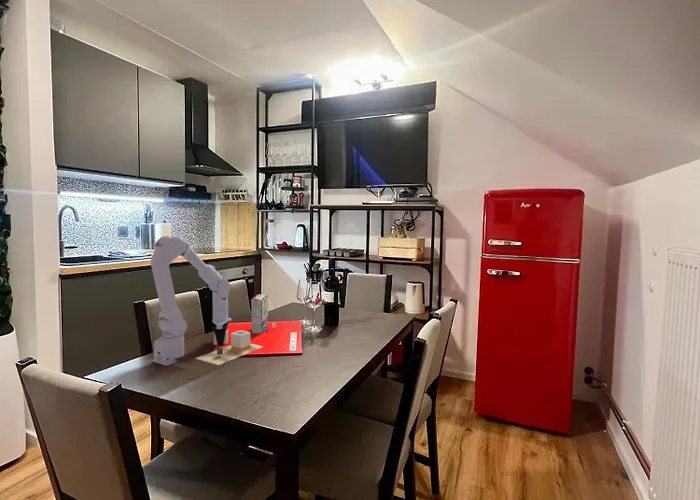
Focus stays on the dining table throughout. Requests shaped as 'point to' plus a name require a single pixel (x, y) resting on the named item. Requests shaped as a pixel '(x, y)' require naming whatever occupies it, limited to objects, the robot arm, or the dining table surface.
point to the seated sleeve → (240, 340)
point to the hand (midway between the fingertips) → (221, 341)
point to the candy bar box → (259, 313)
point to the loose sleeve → (224, 338)
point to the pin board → (226, 354)
